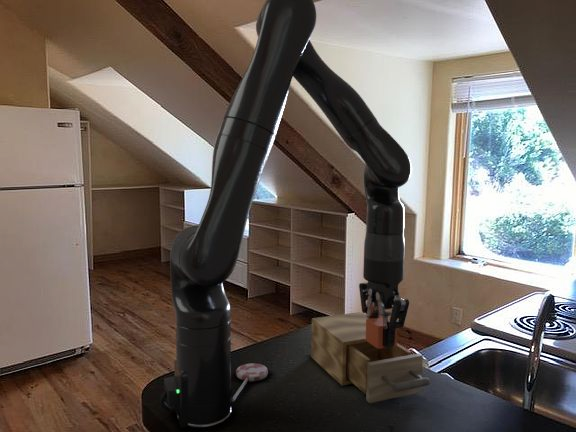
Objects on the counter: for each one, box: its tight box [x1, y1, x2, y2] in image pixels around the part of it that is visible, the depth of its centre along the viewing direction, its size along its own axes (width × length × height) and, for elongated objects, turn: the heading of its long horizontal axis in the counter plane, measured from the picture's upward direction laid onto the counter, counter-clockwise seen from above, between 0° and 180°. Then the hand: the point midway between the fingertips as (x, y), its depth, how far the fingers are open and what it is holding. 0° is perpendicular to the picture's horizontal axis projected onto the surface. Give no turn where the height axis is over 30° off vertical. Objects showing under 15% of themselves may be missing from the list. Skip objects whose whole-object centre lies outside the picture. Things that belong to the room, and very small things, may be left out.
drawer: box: [346, 342, 430, 404], centre depth 92 cm, size 18×11×7 cm, turn 22°
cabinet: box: [310, 311, 368, 386], centre depth 103 cm, size 15×13×9 cm
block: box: [365, 316, 399, 349], centre depth 92 cm, size 4×4×4 cm
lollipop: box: [231, 362, 269, 402], centre depth 95 cm, size 7×1×15 cm
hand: (380, 341), depth 93 cm, fingers closed on block, 4 cm apart
